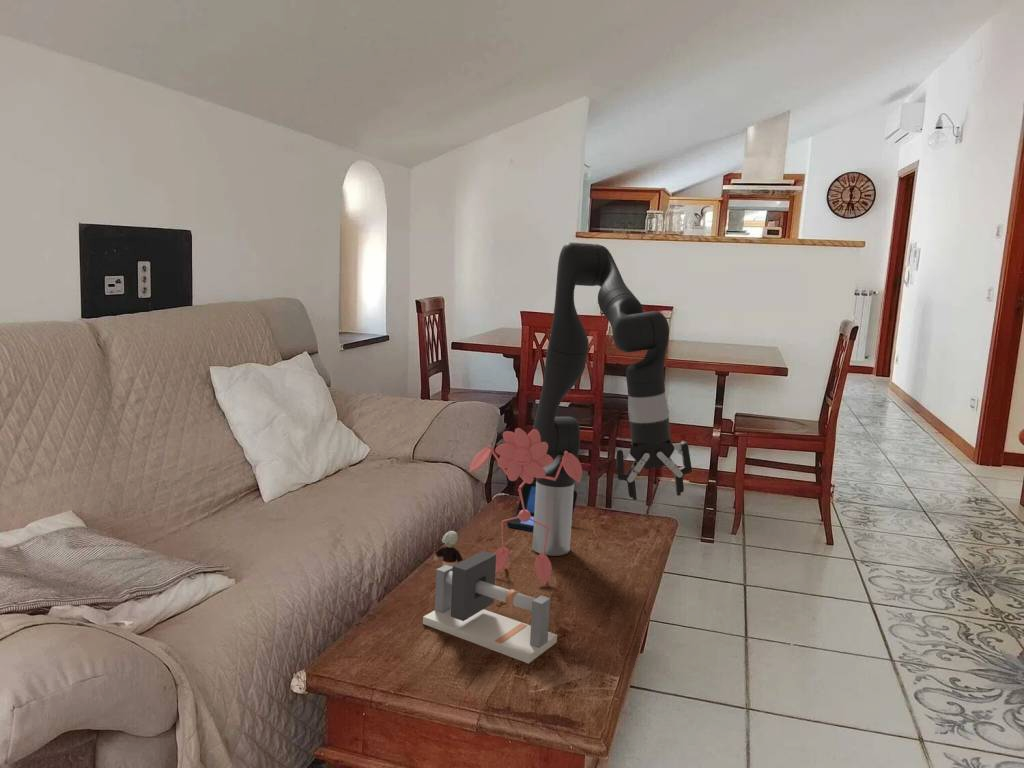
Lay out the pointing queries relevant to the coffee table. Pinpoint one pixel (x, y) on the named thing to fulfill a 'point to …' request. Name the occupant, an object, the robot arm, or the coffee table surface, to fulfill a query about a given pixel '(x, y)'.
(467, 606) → the grey plate with hole
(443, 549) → the grandmother figurine
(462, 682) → the coffee table surface
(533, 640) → the pipe stand
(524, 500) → the handheld game console
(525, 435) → the flower
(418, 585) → the coffee table surface
